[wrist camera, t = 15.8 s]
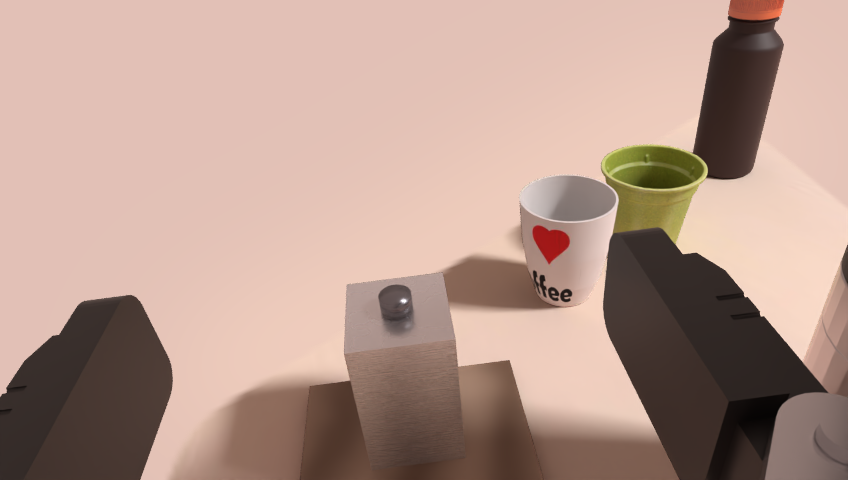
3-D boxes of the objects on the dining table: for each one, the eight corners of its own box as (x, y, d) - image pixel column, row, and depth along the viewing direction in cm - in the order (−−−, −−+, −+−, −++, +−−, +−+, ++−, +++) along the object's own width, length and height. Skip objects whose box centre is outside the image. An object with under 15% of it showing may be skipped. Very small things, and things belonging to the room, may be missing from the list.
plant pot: (639, 280, 54) (650, 200, 49) (576, 233, 62) (581, 160, 57) (713, 248, 57) (731, 170, 52) (645, 208, 64) (655, 136, 60)
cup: (503, 281, 56) (501, 191, 50) (570, 254, 59) (575, 165, 53) (555, 330, 50) (559, 234, 44) (627, 297, 52) (640, 202, 47)
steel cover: (453, 385, 44) (441, 257, 38) (465, 457, 39) (454, 323, 32) (370, 396, 44) (343, 270, 37) (371, 470, 39) (340, 338, 32)
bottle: (680, 158, 73) (709, -10, 62) (732, 151, 73) (770, -18, 62) (708, 183, 67) (745, 3, 56) (764, 175, 68) (812, -6, 57)
